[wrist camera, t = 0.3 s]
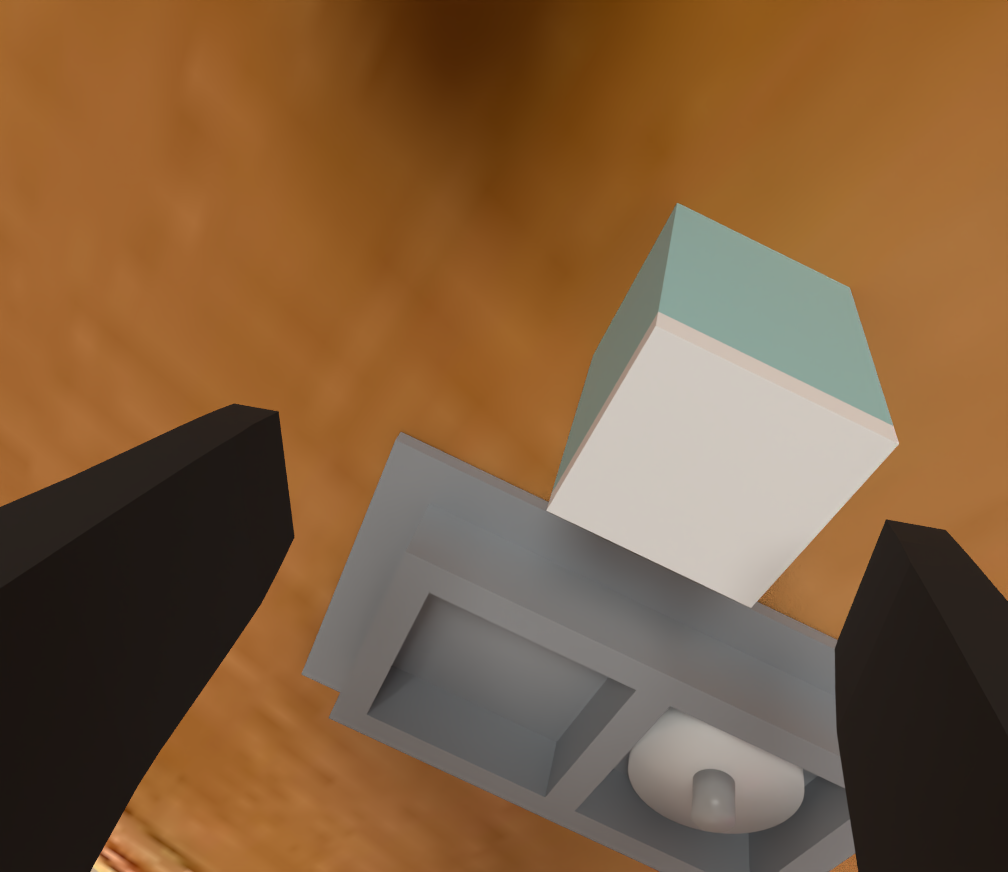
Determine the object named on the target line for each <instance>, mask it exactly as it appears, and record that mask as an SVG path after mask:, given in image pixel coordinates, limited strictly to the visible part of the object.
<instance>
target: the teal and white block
mask: <svg viewBox="0 0 1008 872" xmlns="http://www.w3.org/2000/svg"><path fill="white" fill-rule="evenodd" d="M898 444H899V442H898V439H897V436H896V433H895V430H894V426H893V423H892V420H891V417H890V414H889V411H888V407H887V404H886V401H885V398H884V395H883V391H882V388H881V385H880V382H879V379H878V376H877V372H876V369H875V366H874V363H873V360H872V357H871V353H870V350H869V347H868V344H867V341H866V338H865V334H864V331H863V328H862V325H861V322H860V318H859V315H858V312H857V309H856V306H855V303H854V299H853V296H852V293H851V290H850V288H849V287H847V286H845V285H843V284H841V283H839V282H837V281H835V280H833V279H831V278H829V277H827V276H825V275H823V274H821V273H819V272H817V271H815V270H813V269H811V268H809V267H807V266H805V265H803V264H801V263H799V262H797V261H795V260H792V259H790V258H788V257H786V256H784V255H782V254H780V253H778V252H776V251H774V250H772V249H770V248H768V247H766V246H764V245H762V244H760V243H758V242H756V241H754V240H752V239H750V238H748V237H746V236H744V235H742V234H740V233H738V232H736V231H734V230H732V229H730V228H728V227H726V226H723V225H721V224H719V223H717V222H715V221H713V220H711V219H709V218H707V217H705V216H703V215H701V214H699V213H697V212H695V211H693V210H691V209H689V208H687V207H685V206H683V205H681V204H679V203H677V204H676V206H675V208H674V210H673V211H672V213H671V215H670V217H669V219H668V220H667V222H666V224H665V226H664V228H663V230H662V231H661V233H660V235H659V237H658V239H657V240H656V242H655V244H654V246H653V248H652V250H651V251H650V253H649V255H648V257H647V259H646V260H645V262H644V264H643V266H642V268H641V269H640V271H639V273H638V275H637V277H636V279H635V280H634V282H633V284H632V286H631V288H630V289H629V291H628V293H627V295H626V297H625V299H624V300H623V302H622V304H621V306H620V308H619V309H618V311H617V313H616V315H615V317H614V318H613V320H612V322H611V324H610V326H609V328H608V329H607V331H606V333H605V335H604V337H603V338H602V340H601V342H600V344H599V346H598V348H597V349H596V351H595V353H594V355H593V358H592V361H591V364H590V368H589V371H588V374H587V378H586V381H585V384H584V388H583V391H582V394H581V398H580V401H579V404H578V408H577V411H576V414H575V417H574V421H573V424H572V427H571V431H570V434H569V437H568V441H567V444H566V447H565V451H564V454H563V457H562V461H561V464H560V467H559V471H558V474H557V477H556V480H555V484H554V487H553V490H552V494H551V497H550V500H549V504H548V507H547V510H546V511H548V512H550V513H553V514H555V515H557V516H559V517H561V518H563V519H565V520H567V521H569V522H571V523H574V524H576V525H578V526H580V527H582V528H584V529H586V530H588V531H590V532H592V533H595V534H597V535H599V536H601V537H603V538H605V539H607V540H609V541H611V542H613V543H616V544H618V545H620V546H622V547H624V548H626V549H628V550H630V551H632V552H634V553H637V554H639V555H641V556H643V557H645V558H647V559H649V560H651V561H653V562H655V563H658V564H660V565H662V566H664V567H666V568H668V569H670V570H672V571H674V572H676V573H679V574H681V575H683V576H685V577H687V578H689V579H691V580H693V581H695V582H697V583H700V584H702V585H704V586H706V587H708V588H710V589H712V590H714V591H716V592H719V593H721V594H723V595H725V596H727V597H729V598H731V599H733V600H735V601H737V602H740V603H742V604H744V605H746V606H748V607H750V608H752V606H753V605H754V604H755V603H756V602H757V601H758V600H759V599H760V598H761V596H762V595H763V594H764V593H765V592H766V591H767V590H768V589H769V588H770V586H771V585H772V584H773V583H774V582H775V581H776V580H777V579H778V578H779V576H780V575H781V574H782V573H783V572H784V571H785V570H786V569H787V568H788V566H789V565H790V564H791V563H792V562H793V561H794V560H795V559H796V558H797V556H798V555H799V554H800V553H801V552H802V551H803V550H804V549H805V548H806V546H807V545H808V544H809V543H810V542H811V541H812V540H813V539H814V538H815V537H816V535H817V534H818V533H819V532H820V531H821V530H822V529H823V528H824V527H825V525H826V524H827V523H828V522H829V521H830V520H831V519H832V518H833V517H834V515H835V514H836V513H837V512H838V511H839V510H840V509H841V508H842V507H843V505H844V504H845V503H846V502H847V501H848V500H849V499H850V498H851V497H852V495H853V494H854V493H855V492H856V491H857V490H858V489H859V488H860V487H861V485H862V484H863V483H864V482H865V481H866V480H867V479H868V478H869V477H870V476H871V474H872V473H873V472H874V471H875V470H876V469H877V468H878V467H879V466H880V464H881V463H882V462H883V461H884V460H885V459H886V458H887V457H888V456H889V454H890V453H891V452H892V451H893V450H894V449H895V448H896V447H897V446H898Z"/></svg>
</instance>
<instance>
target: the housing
mask: <svg viewBox="0 0 1008 872" xmlns="http://www.w3.org/2000/svg"><path fill="white" fill-rule="evenodd" d="M548 504H549V502H547V501H545V500H543V499H541V498H539V497H537V496H534V495H532V494H530V493H528V492H526V491H524V490H522V489H520V488H518V487H516V486H513V485H511V484H509V483H507V482H505V481H503V480H501V479H499V478H497V477H495V476H493V475H490V474H488V473H486V472H484V471H482V470H480V469H478V468H476V467H474V466H472V465H469V464H467V463H465V462H463V461H461V460H459V459H457V458H455V457H453V456H451V455H448V454H446V453H444V452H442V451H440V450H438V449H436V448H434V447H432V446H430V445H428V444H425V443H423V442H421V441H419V440H417V439H415V438H413V437H411V436H409V435H407V434H404V433H402V432H400V434H399V436H398V437H397V439H396V441H395V443H394V446H393V448H392V451H391V453H390V456H389V458H388V461H387V463H386V466H385V468H384V470H383V473H382V475H381V478H380V480H379V483H378V485H377V488H376V490H375V493H374V495H373V498H372V500H371V503H370V505H369V508H368V510H367V513H366V515H365V518H364V520H363V523H362V525H361V528H360V530H359V533H358V535H357V538H356V540H355V543H354V545H353V548H352V550H351V553H350V555H349V558H348V560H347V562H346V565H345V567H344V570H343V572H342V575H341V577H340V580H339V582H338V585H337V587H336V590H335V592H334V595H333V597H332V600H331V602H330V605H329V607H328V610H327V612H326V615H325V617H324V620H323V622H322V625H321V627H320V630H319V632H318V635H317V637H316V640H315V642H314V645H313V647H312V650H311V652H310V654H309V657H308V659H307V662H306V664H305V667H304V669H303V672H302V675H304V676H306V677H308V678H310V679H312V680H315V681H317V682H319V683H321V684H323V685H325V686H327V687H330V688H332V689H334V690H336V691H338V692H340V694H339V697H338V699H337V701H336V703H335V705H334V707H333V710H332V712H331V714H330V716H329V718H330V719H332V720H334V721H336V722H338V723H340V724H343V725H345V726H347V727H349V728H351V729H353V730H356V731H358V732H360V733H362V734H364V735H366V736H368V737H371V738H373V739H375V740H377V741H379V742H381V743H384V744H386V745H388V746H390V747H392V748H394V749H397V750H399V751H401V752H403V753H405V754H407V755H410V756H412V757H414V758H416V759H418V760H420V761H422V762H425V763H427V764H429V765H431V766H433V767H435V768H438V769H440V770H442V771H444V772H446V773H448V774H451V775H453V776H455V777H457V778H459V779H461V780H463V781H466V782H468V783H470V784H472V785H474V786H476V787H479V788H481V789H483V790H485V791H487V792H489V793H492V794H494V795H496V796H498V797H500V798H502V799H504V800H507V801H509V802H511V803H513V804H515V805H517V806H520V807H522V808H524V809H526V810H528V811H530V812H533V813H535V814H537V815H539V816H541V817H543V818H545V819H548V820H550V821H552V822H554V823H556V824H558V825H561V826H563V827H565V828H567V829H569V830H571V831H574V832H576V833H578V834H580V835H582V836H584V837H587V838H589V839H591V840H593V841H595V842H597V843H599V844H602V845H604V846H606V847H608V848H610V849H612V850H615V851H617V852H619V853H621V854H623V855H625V856H628V857H630V858H632V859H634V860H636V861H638V862H640V863H643V864H645V865H647V866H649V867H651V868H653V869H656V870H658V871H660V872H829V871H830V870H832V869H833V868H835V867H836V866H837V865H839V864H840V863H842V862H843V861H845V860H846V859H848V858H849V857H850V856H852V855H853V854H855V847H854V841H853V835H852V829H851V822H850V816H849V810H848V804H847V797H846V791H845V784H844V778H843V771H842V765H841V758H840V751H839V744H838V738H837V728H836V700H835V646H836V644H837V641H838V640H836V639H834V638H832V637H830V636H828V635H826V634H824V633H822V632H819V631H817V630H815V629H813V628H811V627H809V626H807V625H805V624H803V623H801V622H799V621H796V620H794V619H792V618H790V617H788V616H786V615H784V614H782V613H780V612H778V611H775V610H773V609H771V608H769V607H767V606H765V605H763V604H761V603H759V602H756V603H755V604H754V605H753V606H752V608H750V607H748V606H746V605H744V604H742V603H740V602H737V601H735V600H733V599H731V598H729V597H727V596H725V595H723V594H721V593H719V592H716V591H714V590H712V589H710V588H708V587H706V586H704V585H702V584H700V583H697V582H695V581H693V580H691V579H689V578H687V577H685V576H683V575H681V574H679V573H676V572H674V571H672V570H670V569H668V568H666V567H664V566H662V565H660V564H658V563H655V562H653V561H651V560H649V559H647V558H645V557H643V556H641V555H639V554H637V553H634V552H632V551H630V550H628V549H626V548H624V547H622V546H620V545H618V544H616V543H613V542H611V541H609V540H607V539H605V538H603V537H601V536H599V535H597V534H595V533H592V532H590V531H588V530H586V529H584V528H582V527H580V526H578V525H576V524H574V523H571V522H569V521H567V520H565V519H563V518H561V517H559V516H557V515H555V514H553V513H550V512H548V511H546V510H547V507H548Z"/></svg>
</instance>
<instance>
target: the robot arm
mask: <svg viewBox="0 0 1008 872" xmlns="http://www.w3.org/2000/svg"><path fill="white" fill-rule="evenodd" d="M293 539H294V530H293V522H292V514H291V506H290V498H289V490H288V482H287V475H286V467H285V459H284V451H283V443H282V435H281V427H280V419H279V412H278V411H273V410H267V409H261V408H256V407H250V406H244V405H239V404H232V405H229V406H226V407H224V408H221V409H218V410H216V411H213V412H211V413H209V414H206V415H204V416H202V417H199V418H197V419H195V420H193V421H190V422H188V423H186V424H184V425H181V426H179V427H177V428H175V429H173V430H171V431H169V432H166V433H164V434H162V435H160V436H158V437H156V438H154V439H151V440H149V441H147V442H145V443H143V444H141V445H139V446H137V447H134V448H132V449H130V450H128V451H126V452H124V453H121V454H119V455H117V456H115V457H113V458H111V459H109V460H106V461H104V462H102V463H100V464H98V465H96V466H93V467H91V468H89V469H87V470H85V471H83V472H81V473H78V474H76V475H74V476H72V477H70V478H67V479H65V480H63V481H60V482H58V483H56V484H53V485H51V486H49V487H46V488H44V489H41V490H39V491H37V492H34V493H32V494H30V495H27V496H25V497H23V498H20V499H18V500H16V501H13V502H11V503H9V504H6V505H4V506H2V507H0V872H90V871H91V869H92V867H93V865H94V864H95V862H96V860H97V858H98V856H99V855H100V853H101V851H102V849H103V847H104V846H105V844H106V842H107V840H108V838H109V837H110V835H111V833H112V831H113V829H114V828H115V826H116V824H117V822H118V820H119V819H120V817H121V815H122V813H123V811H124V810H125V808H126V806H127V804H128V802H129V801H130V799H131V797H132V795H133V794H134V792H135V790H136V788H137V786H138V785H139V783H140V782H141V780H142V779H143V777H144V775H145V774H146V772H147V771H148V769H149V767H150V766H151V764H152V763H153V761H154V760H155V758H156V756H157V755H158V753H159V752H160V750H161V749H162V747H163V746H164V744H165V743H166V742H167V740H168V739H169V737H170V736H171V734H172V733H173V732H174V730H175V729H176V727H177V726H178V724H179V723H180V721H181V720H182V719H183V717H184V716H185V714H186V713H187V711H188V710H189V708H190V707H191V706H192V704H193V703H194V701H195V700H196V698H197V697H198V695H199V694H200V693H201V691H202V690H203V688H204V687H205V685H206V684H207V682H208V681H209V680H210V678H211V677H212V675H213V674H214V672H215V671H216V670H217V668H218V667H219V665H220V664H221V662H222V661H223V659H224V658H225V657H226V655H227V654H228V652H229V651H230V649H231V648H232V646H233V645H234V643H235V642H236V640H237V639H238V637H239V636H240V635H241V633H242V632H243V630H244V629H245V627H246V626H247V624H248V623H249V621H250V620H251V618H252V617H253V615H254V614H255V612H256V611H257V609H258V608H259V606H260V605H261V603H262V601H263V599H264V597H265V595H266V593H267V592H268V590H269V588H270V586H271V584H272V582H273V580H274V578H275V576H276V574H277V572H278V570H279V568H280V566H281V564H282V562H283V560H284V558H285V556H286V554H287V552H288V550H289V547H290V545H291V543H292V541H293ZM835 700H836V728H837V738H838V744H839V751H840V758H841V765H842V771H843V778H844V784H845V791H846V797H847V804H848V810H849V816H850V822H851V829H852V835H853V841H854V847H855V853H856V860H857V866H858V872H1008V601H1007V600H1006V599H1005V598H1004V596H1003V595H1002V594H1001V593H1000V592H999V591H998V589H997V588H996V587H995V586H994V585H993V584H992V582H991V581H990V580H989V579H988V578H987V577H986V575H985V574H984V573H983V572H982V571H981V569H980V568H979V567H978V566H977V565H976V564H975V562H974V561H973V560H972V559H971V558H970V557H969V556H968V554H967V553H966V552H965V551H964V550H963V549H962V548H961V546H960V545H959V544H958V543H957V542H956V541H955V540H954V539H953V538H952V537H951V535H950V534H949V533H948V532H947V531H946V530H942V529H936V528H931V527H925V526H920V525H914V524H908V523H903V522H897V521H891V520H886V521H885V524H884V526H883V529H882V531H881V534H880V536H879V539H878V541H877V544H876V546H875V549H874V551H873V554H872V556H871V559H870V561H869V564H868V566H867V569H866V571H865V574H864V576H863V579H862V581H861V584H860V586H859V589H858V591H857V594H856V596H855V599H854V601H853V604H852V606H851V609H850V611H849V614H848V616H847V619H846V621H845V624H844V626H843V629H842V631H841V634H840V636H839V639H838V641H837V644H836V646H835Z"/></svg>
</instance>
